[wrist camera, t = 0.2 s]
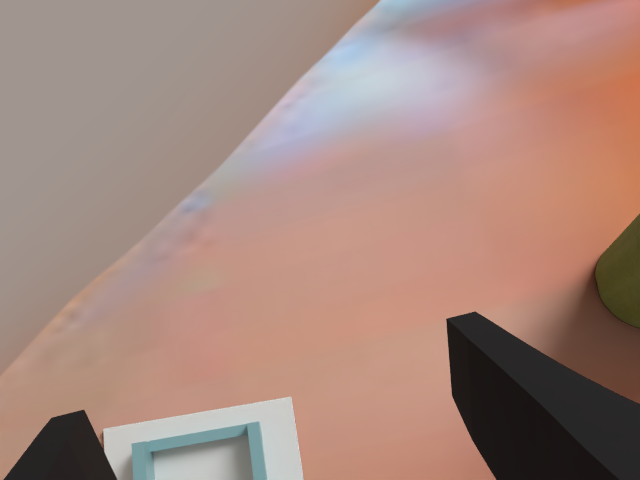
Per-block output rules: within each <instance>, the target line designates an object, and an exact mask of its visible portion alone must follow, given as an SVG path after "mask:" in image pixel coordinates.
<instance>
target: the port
mask: <svg viewBox="0 0 640 480" xmlns="http://www.w3.org/2000/svg"><path fill="white" fill-rule="evenodd" d="M103 431H104V452H105V455H106V457H107V459H108V461H109V463H110V465H111V467H112V469H113V471H114V473H115V476H116V478H117V480H304V479H303V472H302V466H301V459H300V452H299V445H298V439H297V432H296V425H295V419H294V412H293V405H292V398H291V397H286V398H280V399H274V400H269V401H263V402H257V403H251V404H245V405H239V406H234V407H228V408H222V409H216V410H210V411H204V412H199V413H193V414H187V415H181V416H175V417H169V418H164V419H158V420H152V421H146V422H140V423H134V424H129V425H123V426H117V427H111V428H105V429H103Z"/></svg>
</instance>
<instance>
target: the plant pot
mask: <svg viewBox="0 0 640 480" xmlns="http://www.w3.org/2000/svg"><path fill="white" fill-rule="evenodd" d="M595 278H596V281H597V286H598V290H599V295H600V298H601V300H602V301H603V303H604V304H605V305H606V307H607V308H608V309H609V310H610V311H611V312H612V313H613V314H614V315H615V316H616V317H617V318H619V319H620V320H622V321H623V322H625V323H627V324H630V325H632V326H635V327H639V328H640V214H639V215H638V216H637V217H636V218H635V219H634V221H633V222H632V223H631V224H630V225H629V226H628V227H627V228H626V229H625V230H624V231H623V232H622V234H621V235H620V236H619V237H618V238H617V239H616V240H615V241H614V242H613V243H612V244H611V245H610V246H609V248H608V249H607V250H606V251H605V252H604V253H603V254H602V255H601V257H600V259H599V261H598V263H597V266H596V271H595Z"/></svg>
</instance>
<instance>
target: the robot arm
mask: <svg viewBox="0 0 640 480" xmlns="http://www.w3.org/2000/svg"><path fill="white" fill-rule="evenodd" d="M446 320H447V334H448V347H449V360H450V374H451V387H452V397H453V399H454V401H455V403H456V406H457V408H458V410H459V412H460V414H461V417H462V419H463V421H464V423H465V425H466V427H467V430H468V432H469V434H470V436H471V438H472V440H473V442H474V444H475V445H476V447H477V449H478V450H479V452H480V454H481V455H482V457H483V458H484V460H485V462H486V463H487V465H488V467H489V468H490V470H491V472H492V473H493V475H494V476H495V478H496V480H640V404H638V403H636V402H634V401H631V400H629V399H627V398H625V397H623V396H621V395H619V394H617V393H615V392H613V391H611V390H609V389H607V388H605V387H603V386H601V385H599V384H597V383H595V382H593V381H591V380H589V379H587V378H586V377H584V376H582V375H580V374H578V373H576V372H575V371H573V370H571V369H569V368H567V367H565V366H564V365H562V364H560V363H558V362H557V361H555V360H553V359H552V358H550V357H548V356H546V355H545V354H543V353H541V352H540V351H538V350H536V349H535V348H533V347H531V346H530V345H528V344H526V343H525V342H523V341H522V340H520V339H518V338H517V337H515V336H514V335H512V334H510V333H509V332H507V331H506V330H504V329H502V328H501V327H499V326H498V325H496V324H495V323H493V322H491V321H490V320H488V319H487V318H485V317H483V316H482V315H480V314H478V313H477V312H472V313H468V314H464V315H460V316H456V317H452V318H448V319H446ZM4 480H117V478H116V476H115V473H114V471H113V469H112V467H111V465H110V463H109V461H108V459H107V457H106V455H105V452H104V450H103V448H102V446H101V444H100V442H99V440H98V438H97V436H96V434H95V432H94V429H93V427H92V425H91V423H90V421H89V419H88V417H87V415H86V413H85V411H84V410H81V411H77V412H73V413H69V414H65V415H61V416H57V417H53V418H51V419H50V421H49V422H48V423H47V424H46V425H45V427H44V428H43V429H42V430H41V432H40V433H39V434H38V435H37V437H36V438H35V439H34V441H33V442H32V443H31V445H30V446H29V447H28V448H27V450H26V451H25V452H24V454H23V455H22V456H21V458H20V459H19V460H18V462H17V463H16V464H15V466H14V467H13V468H12V469H11V471H10V472H9V473H8V475H7V476H6V477H5V479H4Z"/></svg>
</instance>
